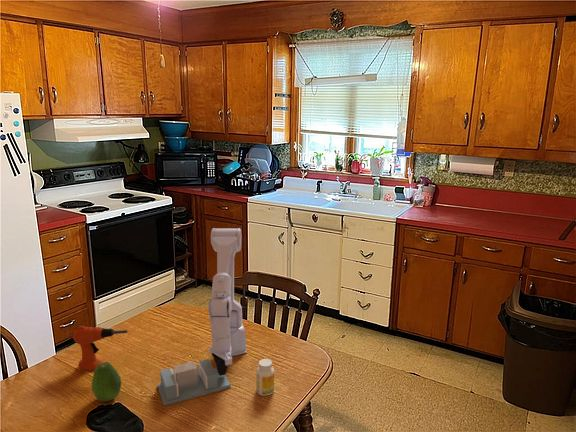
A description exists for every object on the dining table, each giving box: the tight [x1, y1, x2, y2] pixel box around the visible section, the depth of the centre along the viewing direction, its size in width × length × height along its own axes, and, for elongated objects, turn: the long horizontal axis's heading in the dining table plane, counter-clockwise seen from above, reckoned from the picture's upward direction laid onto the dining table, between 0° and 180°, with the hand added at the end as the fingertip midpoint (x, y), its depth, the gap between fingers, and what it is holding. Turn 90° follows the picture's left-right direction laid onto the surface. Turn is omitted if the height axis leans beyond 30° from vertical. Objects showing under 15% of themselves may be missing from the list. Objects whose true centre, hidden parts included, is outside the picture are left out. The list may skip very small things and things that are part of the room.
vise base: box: [157, 367, 232, 407], centre depth 132 cm, size 20×10×6 cm, turn 116°
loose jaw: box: [197, 358, 217, 389], centre depth 134 cm, size 3×9×4 cm, turn 26°
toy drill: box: [72, 325, 128, 372], centre depth 141 cm, size 5×19×15 cm, turn 85°
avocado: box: [91, 361, 122, 402], centre depth 126 cm, size 8×8×12 cm
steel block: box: [173, 361, 198, 392], centre depth 131 cm, size 6×4×6 cm, turn 116°
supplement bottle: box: [255, 358, 275, 396], centre depth 131 cm, size 5×5×10 cm
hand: (222, 373), depth 136 cm, fingers closed
